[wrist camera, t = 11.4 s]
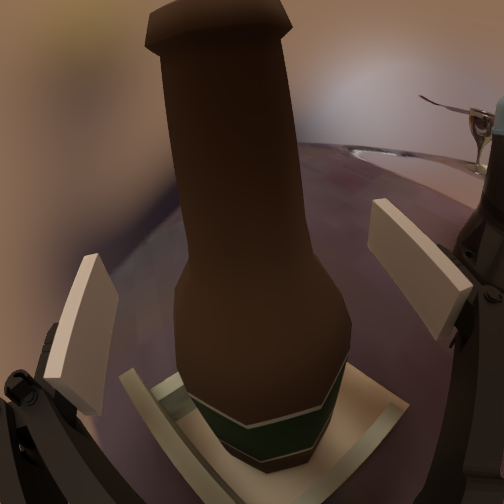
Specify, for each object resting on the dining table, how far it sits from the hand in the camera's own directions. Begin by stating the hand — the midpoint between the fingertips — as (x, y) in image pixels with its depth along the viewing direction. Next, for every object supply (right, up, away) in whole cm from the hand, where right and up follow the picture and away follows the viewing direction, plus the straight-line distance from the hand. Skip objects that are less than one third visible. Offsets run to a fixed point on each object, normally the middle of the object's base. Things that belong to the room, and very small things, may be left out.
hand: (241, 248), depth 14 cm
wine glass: (+57, +20, +43) cm, 74 cm away
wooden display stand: (+2, -14, +7) cm, 16 cm away
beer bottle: (+2, -13, +6) cm, 15 cm away
